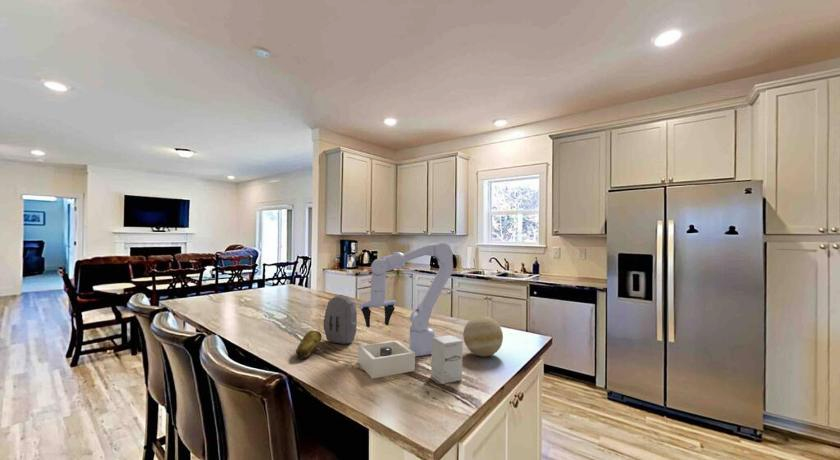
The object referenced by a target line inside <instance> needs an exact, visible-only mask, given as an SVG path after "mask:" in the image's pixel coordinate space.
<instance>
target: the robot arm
mask: <svg viewBox="0 0 840 460" xmlns="http://www.w3.org/2000/svg"><path fill="white" fill-rule="evenodd" d="M453 255H454V253H453V250H452V248H451V246H450V245H449V244H448V243H446V242H441V241H438V242H435V243H430V244H426V245H422V246H421V247H418V248H415V249H412V250H410V251H407V252H405V253H402V252H400V251H398V252H397V251H396V250H395V251H393V252H392V253H391V254H388V255H386V256H384V255H383V256H380V258H381V259H380V258H376V259H374V260H373V261H372V263H371V266H370V269H371V275H370V276H371V278H370V301H364V302H358V309H360V311H361V313H362V315H363V318H364V322H365V327H366V328H368V329H369V328H370V327H371V314H372V313H371V312H372V310H371V309H370V308H381V307H382V308H384V325H385V326H389V323H390V321H391V317H392V315H393V313H394V311H395V307H396V306H397V300H395V299H392V300H389V299H387V300H386V296H387V295H386V292H387V290H386V288H387V286H386V285H387V284H386V283H387V278H386V272H387V271H388V272H390V271H393V270H395V269H399V268H401V267H404V266H405V265H406V262H408V261H411V260H414V259H418V258H420V257H424V256H428V257H434V258H435V259H436V261H437V263H438V264H437V265H438V266H439V269H438V270H437V272H436V273H435V276H434V278H433V280H432V282H431V284H429V285H430V286H429V287H428V290H427V291H426V293H425V295H424V297H423V299H422V300H421V302H420V303H419V305H418V306H417V307H416V308H415V310H414V311H412V312H411V314H410V321H411V326H410V327H409V346H408V348H409V349H410V350H412V351H413V352H415V357H420V356H427V355H432V337H436V336H435V332H434V329H432V328H430V327H429V324H430V323H429V320H430V318H431V315H432V310H433V308H434V307H435V304H436V303H437V301H438V300H439V297H440V296H441V293H442V291H443V289H444V288H445V285H446V283H447V282H448V280H449V279H450V276H451V274H452V273H453V270H454V261H453V260H454V259H453V257H454V256H453Z"/></svg>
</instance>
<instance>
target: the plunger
mask: <svg viewBox="0 0 840 460" xmlns="http://www.w3.org/2000/svg"><path fill="white" fill-rule="evenodd" d="M389 355H392V348H390V347H382V348H380V357H383V356H389ZM393 355H394V354H393ZM375 358H376V357H375Z"/></svg>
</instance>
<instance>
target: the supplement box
mask: <svg viewBox="0 0 840 460" xmlns="http://www.w3.org/2000/svg"><path fill="white" fill-rule="evenodd" d="M463 342H464V340H462V339H459V338H458V337H456V336H454V335H451V334H449V335H442V336H435V337H432V354H431V362H430V363H431V366H430V367H431V369H430V370H431V371H430V373H431V374H430V376H431V377H432V378H433V379H435V380H436V381H437V382H439V383H440V384H441V385H445V384H449V383H453V382H458V381H462V378H463V377H462V376H463V375H462V374H463V371H462V370H463Z"/></svg>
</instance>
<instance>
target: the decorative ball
mask: <svg viewBox="0 0 840 460" xmlns="http://www.w3.org/2000/svg"><path fill="white" fill-rule="evenodd" d="M462 334H463V335H462V336H463V342H464V345H465V346H466V348H467V349H468V351H469V352H471V353H472V354H473V355H475V356H479V357H481V358H482V357H484V358H485V357H491V356H493V355H495V354H496V353H497V352H498V351H499V350H500V349H501V347H502V344H503V340H504V335H503V331H502V328H501V326H500V324H499V323H498V322H497V321H496V320H495V319H494V318H492V317H490V316H486V315H478V316H474V317H471V319H469V320H468V322H467V323H466V324H465V326H464V328H463V333H462Z"/></svg>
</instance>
